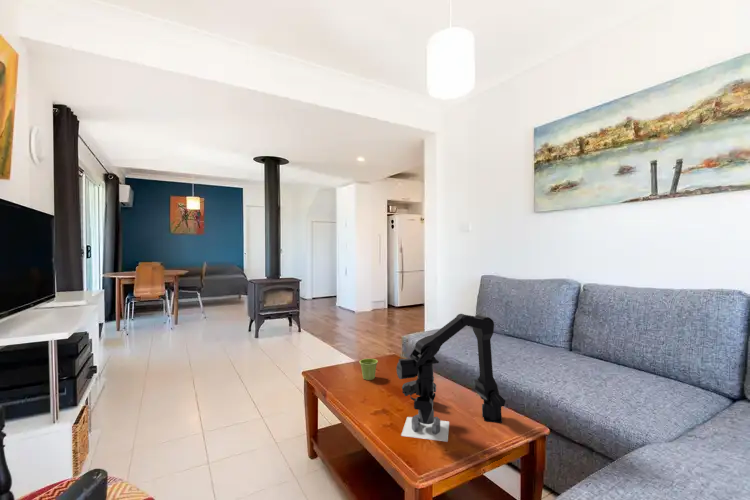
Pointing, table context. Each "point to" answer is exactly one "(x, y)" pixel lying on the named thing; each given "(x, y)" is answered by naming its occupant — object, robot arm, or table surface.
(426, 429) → the mat
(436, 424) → the curved wall segments
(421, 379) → the robot arm
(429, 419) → the grey cylinder white dome
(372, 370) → the plant pot
